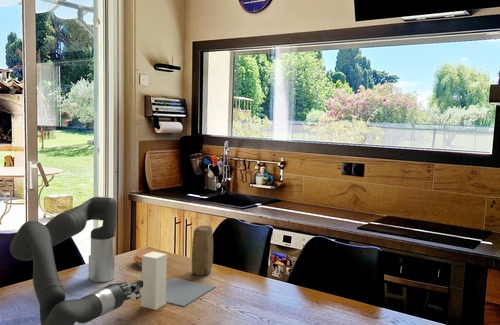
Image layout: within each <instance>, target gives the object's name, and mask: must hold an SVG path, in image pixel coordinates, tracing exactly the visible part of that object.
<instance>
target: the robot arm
mask: <svg viewBox="0 0 500 325" xmlns="http://www.w3.org/2000/svg"><path fill="white" fill-rule="evenodd" d="M117 216H118V203H117V200H116V199H115V198H114V197H106V196H93V197H91V198H89V199H87V200H86V201H84V202H82V203H81V204H80V205H77V206H75V207H72V208H69V209H67V210H65V211H62V212H60V213H58V214H57V215H55V216H54V217H52V218H51V219H50V220H49V221H48V222H46V223H45V224H44V223H42V222H40V221H38V220H37V221H36V220H28V221H25V222H24V223H23V224H22V225H21V226H20V227H19V229H18V230H17V232H16V233H15V235H14V237H13V238H12V240H11V242H10V245H9V253H10V255H11V256H12V257H13V258H15V259H16V260H18V261H21V262H22V261H23V262H30V261H32V263H33V264H32V266H33V267H32V284H33V291H34V292H35V296H36V298H37V301H38V304H39V321H40V325H75V324H76V323H77V324H86V323H89V322H91V321H94V320H95V319H97V318H99V317H103V316H105V315H107V314H109V313H112V311H114V310H115V311H116V310H118V308H121V306H123V304H124V303H125V301H128V300H131V299H132V298H135V300H140V298H141V296H140V294H141V289H142V287H143V281H142V279H139V280H136V281H134V282H126V281H125V282H123V281H122V282H117V283H110V284H108V285H106V286H103V287H101V288H98V289H97V290H94V291H93V292H91V293H89V294H87V295H85V296H82V297H81V298H73V299H67V300H66V292H65V288H64V286H63V284H62V281H61V279H60V276H59V273H58V270H57V266H56V261H55V255H54V250H53V247H55V246H57V245H58V244H61V243H63V242H64V241H66V240H68V239H70V238H72V237H74V236H76V235H78V234H80V233H81V232H83V231H84V229H85V228H86V226H87V222H88V221H92V220H93V221H95V220H96V221H102V225H101V226H98V227H96V228H93V229H91V230H90V254H89V255H88V279H89V280H90V281H91V282H94V283H107V282H110V281H113V280H115V266H116V265H115V261H116V260H115V258H116V257H115V253H116V249H115V248H116V239H115V238H116V229H117Z"/></svg>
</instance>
